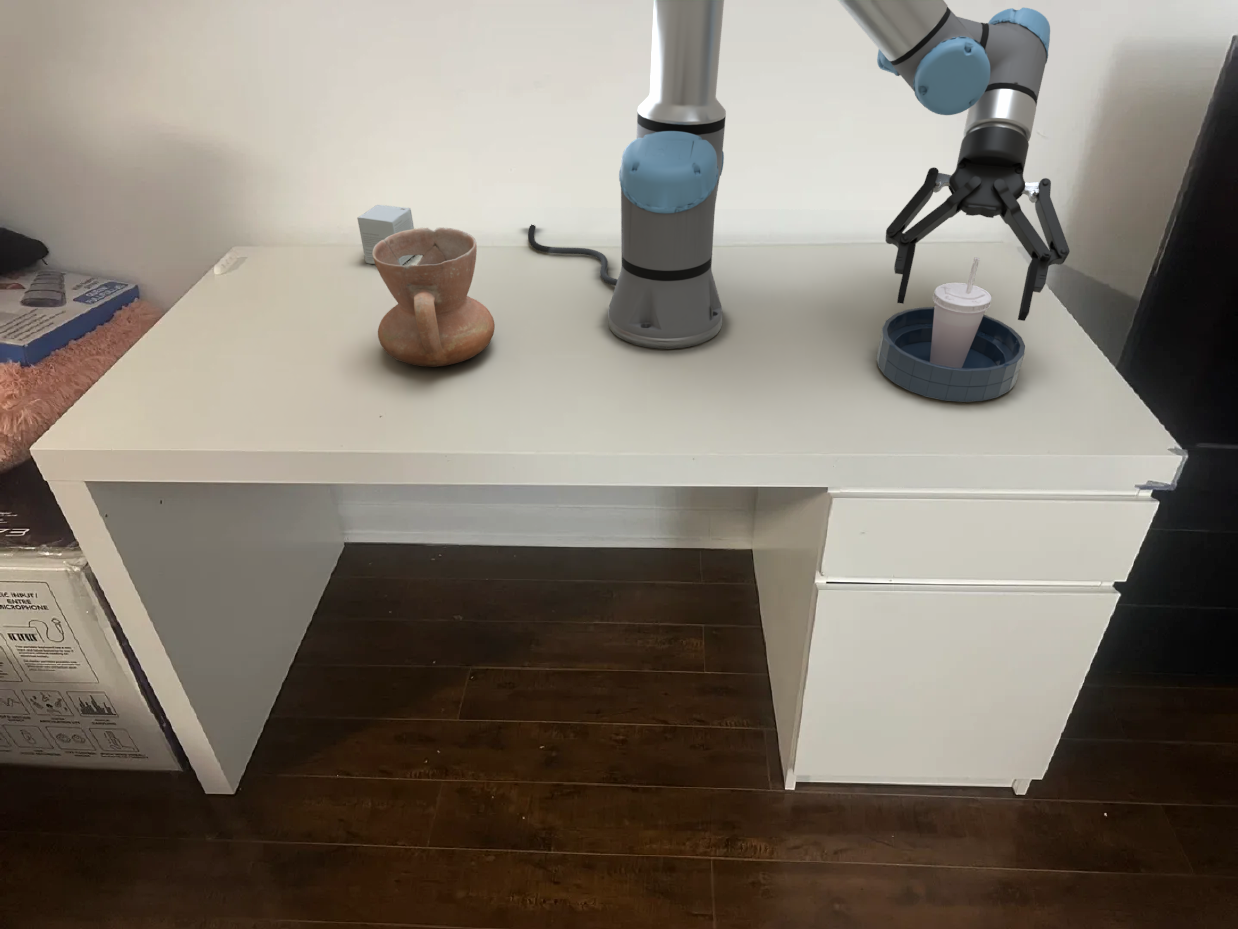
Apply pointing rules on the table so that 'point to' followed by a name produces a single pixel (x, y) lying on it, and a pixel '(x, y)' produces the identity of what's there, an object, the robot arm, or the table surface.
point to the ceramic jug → (432, 298)
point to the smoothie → (957, 319)
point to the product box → (383, 227)
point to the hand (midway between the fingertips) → (960, 308)
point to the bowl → (978, 379)
